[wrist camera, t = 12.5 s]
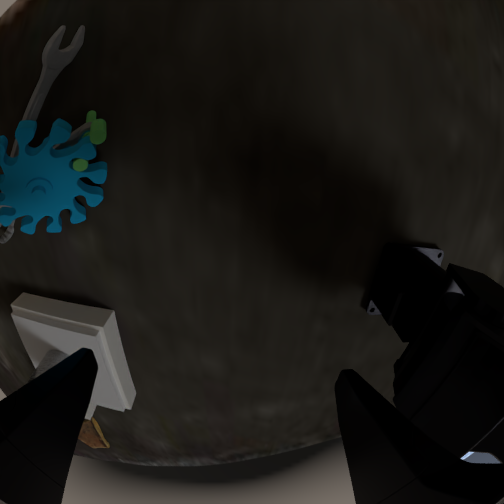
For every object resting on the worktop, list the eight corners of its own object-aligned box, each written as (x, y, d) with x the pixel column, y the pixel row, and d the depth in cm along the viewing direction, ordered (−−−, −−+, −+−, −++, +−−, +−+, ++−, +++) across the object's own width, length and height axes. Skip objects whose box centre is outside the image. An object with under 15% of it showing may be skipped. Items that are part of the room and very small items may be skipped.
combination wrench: (-6, 251, 16) (73, 19, 9) (-14, 244, 16) (62, 16, 9) (17, 236, 20) (98, 32, 13) (10, 229, 19) (88, 28, 13)
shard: (94, 413, 30) (90, 422, 28) (132, 439, 33) (129, 448, 31) (66, 420, 32) (63, 428, 31) (99, 444, 35) (96, 451, 33)
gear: (42, 255, 18) (-47, 199, 9) (45, 202, 20) (-25, 144, 11) (147, 189, 18) (62, 83, 9) (138, 140, 20) (77, 50, 11)
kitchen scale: (114, 310, 22) (95, 340, 18) (140, 406, 28) (132, 433, 24) (20, 291, 21) (-2, 312, 17) (59, 384, 27) (47, 405, 23)
